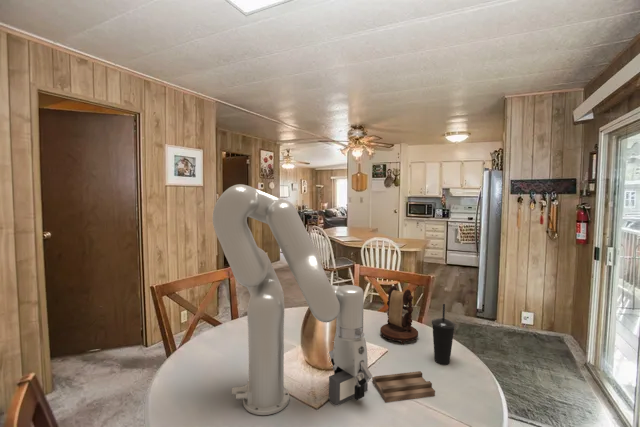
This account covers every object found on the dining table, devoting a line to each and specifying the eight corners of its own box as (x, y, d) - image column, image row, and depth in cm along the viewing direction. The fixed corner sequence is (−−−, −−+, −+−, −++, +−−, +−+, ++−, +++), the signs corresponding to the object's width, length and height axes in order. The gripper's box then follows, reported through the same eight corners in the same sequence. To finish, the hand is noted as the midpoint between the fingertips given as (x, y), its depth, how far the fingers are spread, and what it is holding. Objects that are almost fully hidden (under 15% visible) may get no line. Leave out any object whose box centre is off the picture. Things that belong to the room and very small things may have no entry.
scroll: (372, 336, 132) (373, 287, 131) (394, 326, 142) (395, 280, 141) (404, 349, 122) (405, 295, 120) (425, 337, 132) (426, 288, 130)
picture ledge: (385, 402, 90) (385, 392, 90) (372, 381, 100) (372, 373, 100) (434, 395, 93) (435, 386, 93) (417, 376, 103) (417, 368, 103)
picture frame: (336, 406, 89) (336, 381, 88) (328, 400, 91) (329, 376, 91) (367, 391, 96) (368, 367, 95) (360, 386, 98) (360, 363, 98)
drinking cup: (441, 369, 108) (443, 309, 107) (425, 358, 115) (427, 302, 114) (459, 364, 111) (461, 306, 109) (442, 354, 118) (444, 299, 116)
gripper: (382, 338, 88) (380, 401, 89) (339, 317, 101) (339, 372, 103) (361, 345, 83) (360, 412, 84) (320, 323, 97) (319, 380, 98)
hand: (348, 390), depth 93 cm, fingers open, 8 cm apart
